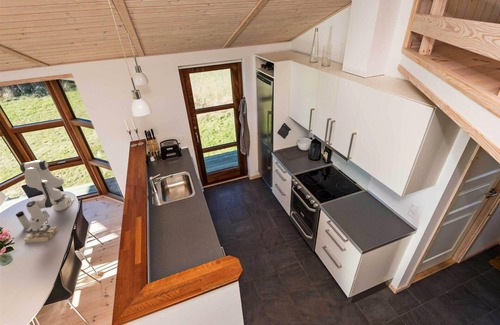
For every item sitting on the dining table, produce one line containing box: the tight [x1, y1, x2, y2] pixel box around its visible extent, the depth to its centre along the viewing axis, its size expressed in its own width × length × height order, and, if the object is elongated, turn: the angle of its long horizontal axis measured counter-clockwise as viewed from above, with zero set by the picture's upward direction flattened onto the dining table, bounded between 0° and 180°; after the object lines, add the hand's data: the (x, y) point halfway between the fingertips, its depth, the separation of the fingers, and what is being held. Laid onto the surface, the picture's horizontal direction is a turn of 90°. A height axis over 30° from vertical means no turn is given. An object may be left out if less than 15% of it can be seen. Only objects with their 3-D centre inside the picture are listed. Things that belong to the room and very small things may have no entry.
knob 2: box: [33, 224, 44, 234], centre depth 248 cm, size 8×5×7 cm, turn 3°
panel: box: [23, 226, 58, 243], centre depth 250 cm, size 16×22×4 cm
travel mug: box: [15, 210, 30, 230], centre depth 258 cm, size 6×7×20 cm
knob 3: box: [40, 224, 52, 233], centre depth 248 cm, size 8×5×7 cm, turn 3°
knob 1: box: [24, 226, 34, 234], centre depth 247 cm, size 8×5×7 cm, turn 3°
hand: (44, 226), depth 246 cm, fingers open, 8 cm apart
